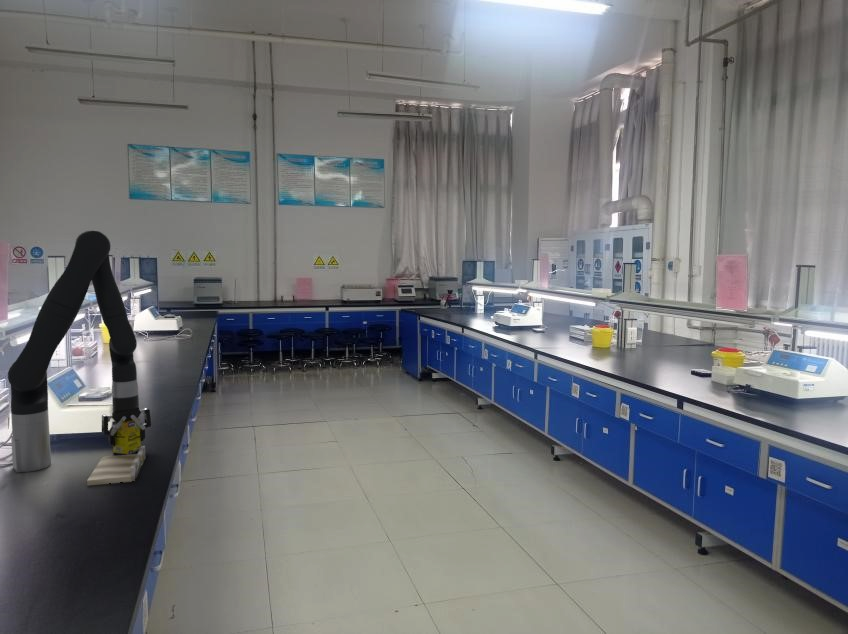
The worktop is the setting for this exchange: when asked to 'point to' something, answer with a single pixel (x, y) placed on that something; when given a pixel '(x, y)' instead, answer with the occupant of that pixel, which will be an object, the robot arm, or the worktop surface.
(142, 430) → the robot arm
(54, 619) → the worktop surface
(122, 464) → the cream serving tray
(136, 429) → the supplement box
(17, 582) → the worktop surface
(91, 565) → the worktop surface
